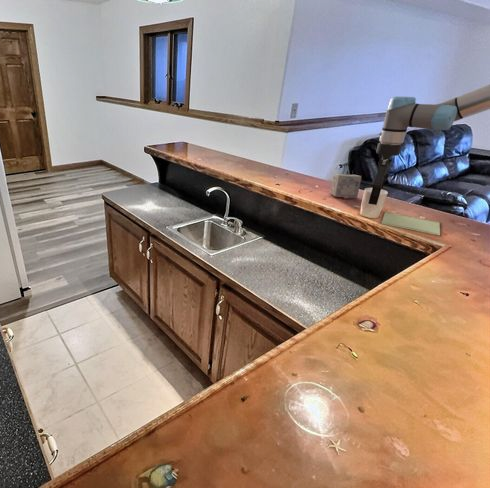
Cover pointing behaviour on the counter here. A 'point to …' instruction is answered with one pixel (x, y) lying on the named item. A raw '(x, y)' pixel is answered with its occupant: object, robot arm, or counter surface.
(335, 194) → the incense holder
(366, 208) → the white cup
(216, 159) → the counter surface
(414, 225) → the napkin
